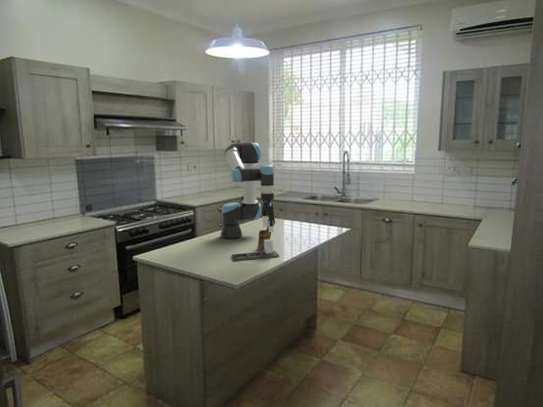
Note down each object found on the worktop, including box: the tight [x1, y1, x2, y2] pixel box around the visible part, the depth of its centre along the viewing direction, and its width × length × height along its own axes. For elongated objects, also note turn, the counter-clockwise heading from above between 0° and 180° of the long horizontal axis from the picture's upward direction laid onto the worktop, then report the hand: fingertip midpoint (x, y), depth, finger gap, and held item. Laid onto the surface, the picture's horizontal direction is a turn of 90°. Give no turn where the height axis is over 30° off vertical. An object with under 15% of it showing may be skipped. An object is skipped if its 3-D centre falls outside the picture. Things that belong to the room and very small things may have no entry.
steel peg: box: [263, 238, 274, 255], centre depth 226 cm, size 4×4×9 cm
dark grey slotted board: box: [231, 250, 280, 262], centre depth 224 cm, size 9×26×1 cm, turn 104°
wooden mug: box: [256, 219, 276, 251], centre depth 241 cm, size 9×14×18 cm, turn 139°
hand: (268, 229), depth 224 cm, fingers open, 13 cm apart
